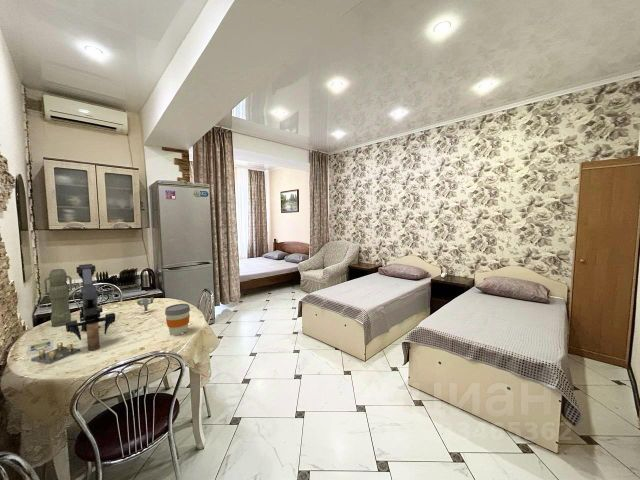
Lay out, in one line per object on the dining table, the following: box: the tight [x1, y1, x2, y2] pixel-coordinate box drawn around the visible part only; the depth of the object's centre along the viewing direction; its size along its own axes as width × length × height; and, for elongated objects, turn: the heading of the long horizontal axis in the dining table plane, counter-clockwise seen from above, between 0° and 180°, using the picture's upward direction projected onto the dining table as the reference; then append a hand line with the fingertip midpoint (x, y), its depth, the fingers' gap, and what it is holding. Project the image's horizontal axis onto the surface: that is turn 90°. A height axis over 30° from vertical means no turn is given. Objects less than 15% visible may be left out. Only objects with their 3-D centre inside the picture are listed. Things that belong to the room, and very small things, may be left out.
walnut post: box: [86, 322, 101, 352], centre depth 127 cm, size 4×4×13 cm
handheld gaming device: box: [25, 339, 54, 356], centre depth 129 cm, size 9×1×15 cm
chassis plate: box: [30, 342, 81, 365], centre depth 121 cm, size 12×12×4 cm
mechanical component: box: [136, 297, 155, 312], centre depth 178 cm, size 3×10×10 cm, turn 148°
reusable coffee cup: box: [164, 303, 191, 336], centre depth 146 cm, size 13×13×15 cm
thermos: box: [43, 268, 73, 328], centre depth 159 cm, size 9×12×35 cm
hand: (93, 336), depth 126 cm, fingers open, 9 cm apart
